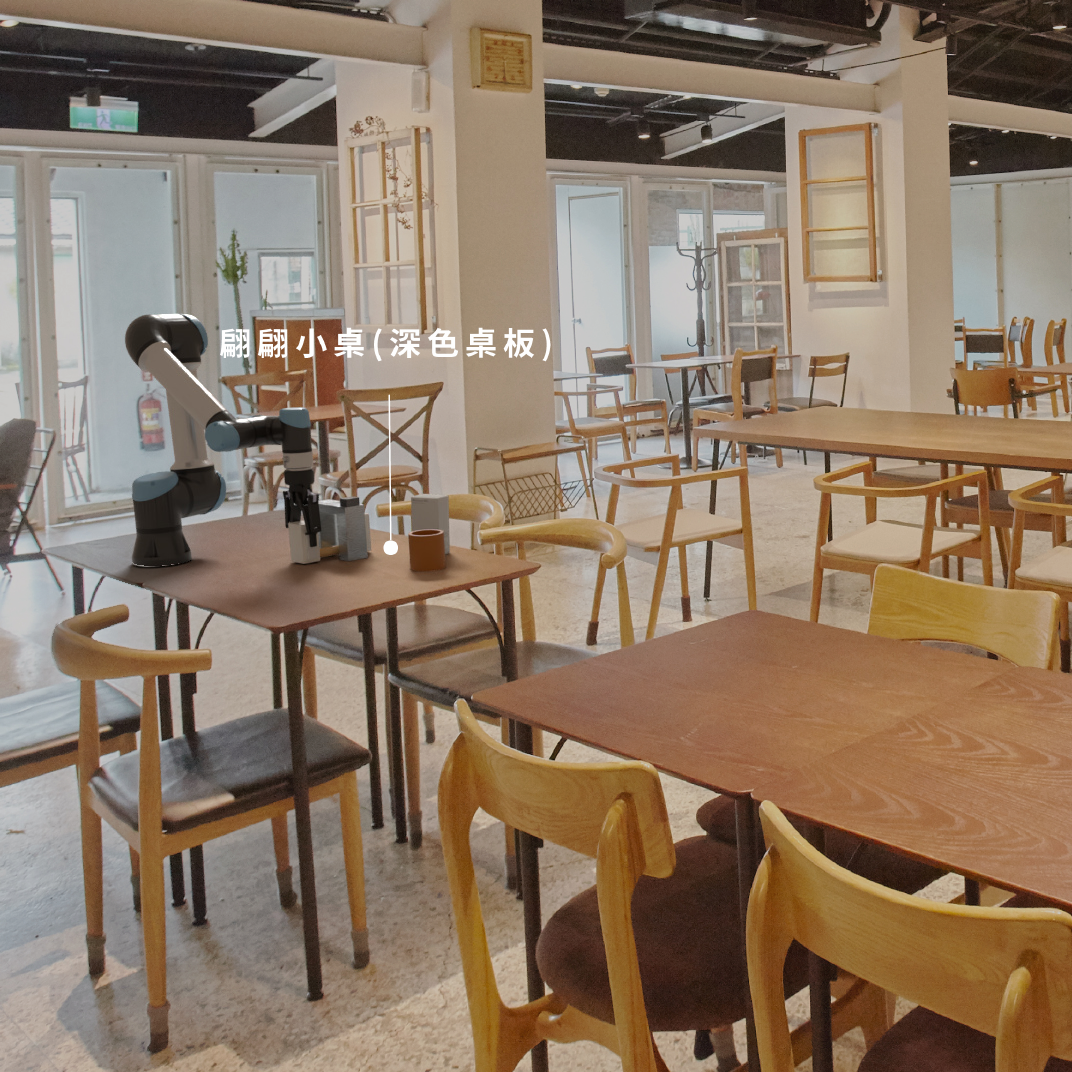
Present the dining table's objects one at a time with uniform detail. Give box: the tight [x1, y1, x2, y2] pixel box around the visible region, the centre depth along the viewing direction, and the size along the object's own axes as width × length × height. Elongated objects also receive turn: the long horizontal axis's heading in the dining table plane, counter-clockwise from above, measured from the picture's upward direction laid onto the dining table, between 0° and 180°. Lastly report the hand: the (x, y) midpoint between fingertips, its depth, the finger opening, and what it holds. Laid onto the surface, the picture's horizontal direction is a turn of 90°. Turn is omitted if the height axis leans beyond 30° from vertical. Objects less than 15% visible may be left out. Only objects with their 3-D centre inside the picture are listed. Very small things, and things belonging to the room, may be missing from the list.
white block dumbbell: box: [287, 512, 372, 564], centre depth 318 cm, size 6×21×10 cm, turn 133°
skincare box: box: [410, 493, 451, 556], centre depth 317 cm, size 8×7×16 cm
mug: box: [407, 529, 447, 572], centre depth 302 cm, size 9×12×9 cm
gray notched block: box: [318, 496, 369, 562], centre depth 320 cm, size 16×6×16 cm, turn 43°
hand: (305, 557), depth 314 cm, fingers closed on white block dumbbell, 6 cm apart
